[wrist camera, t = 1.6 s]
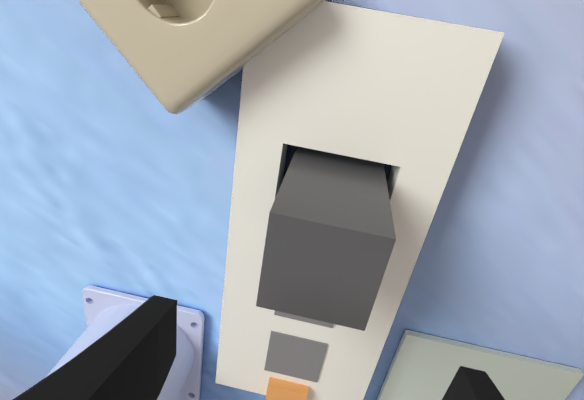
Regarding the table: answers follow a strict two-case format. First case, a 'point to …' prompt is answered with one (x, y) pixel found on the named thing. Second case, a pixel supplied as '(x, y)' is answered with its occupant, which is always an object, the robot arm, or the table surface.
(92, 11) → the electrical outlet
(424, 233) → the power strip
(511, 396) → the mat
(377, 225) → the charger
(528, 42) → the table surface
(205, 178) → the table surface
